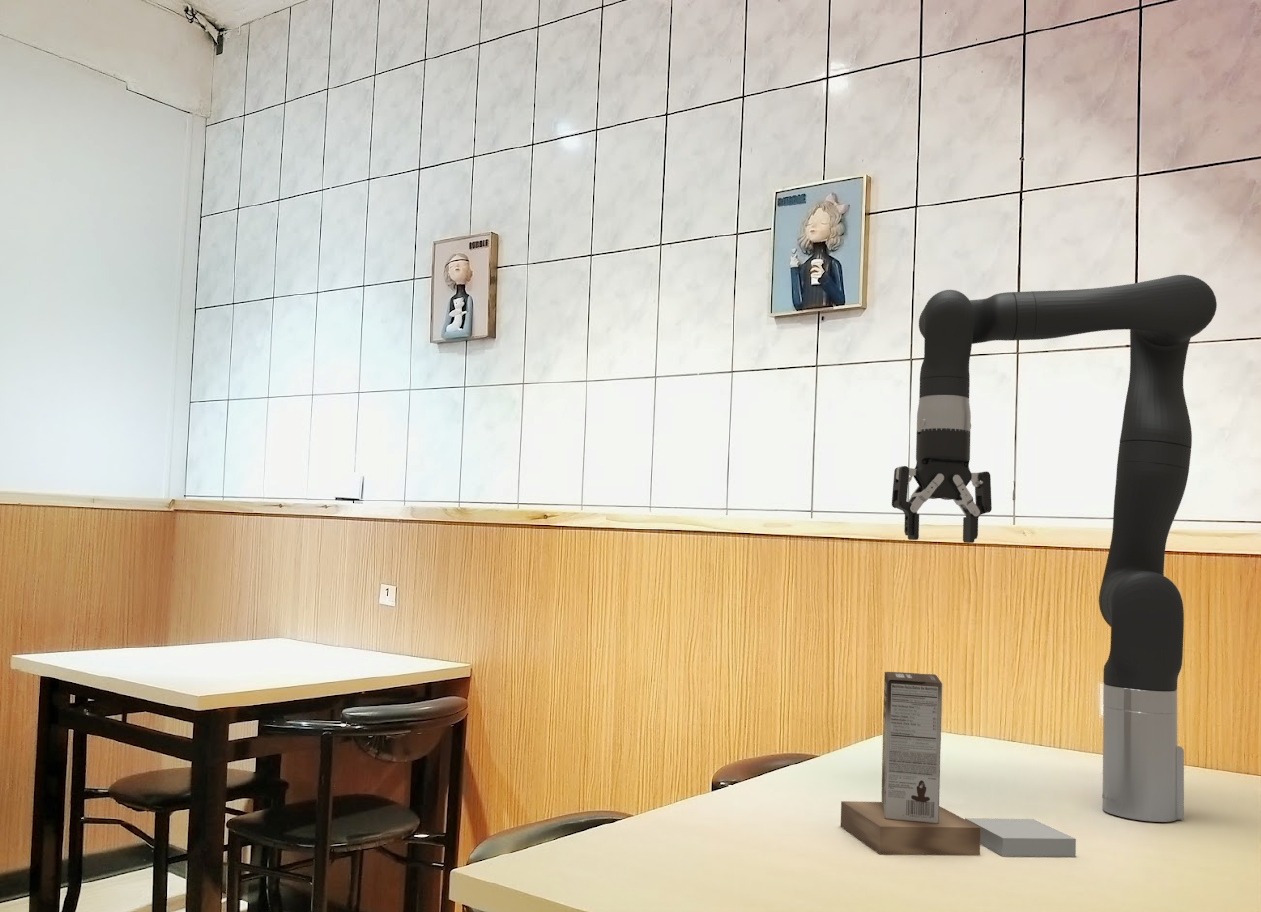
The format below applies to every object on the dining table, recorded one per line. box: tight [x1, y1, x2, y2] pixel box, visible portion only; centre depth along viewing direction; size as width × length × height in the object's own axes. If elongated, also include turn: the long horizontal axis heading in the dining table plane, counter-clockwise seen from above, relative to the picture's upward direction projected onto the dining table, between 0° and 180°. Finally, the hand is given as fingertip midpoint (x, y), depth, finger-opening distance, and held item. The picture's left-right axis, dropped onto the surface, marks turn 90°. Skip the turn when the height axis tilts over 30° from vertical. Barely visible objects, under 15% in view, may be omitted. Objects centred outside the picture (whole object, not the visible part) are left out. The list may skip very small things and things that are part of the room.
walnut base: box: [840, 800, 981, 856], centre depth 124 cm, size 12×12×3 cm
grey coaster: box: [964, 817, 1077, 858], centre depth 124 cm, size 9×9×2 cm
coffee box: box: [881, 671, 943, 824], centre depth 126 cm, size 9×6×16 cm
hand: (940, 541), depth 151 cm, fingers open, 8 cm apart
